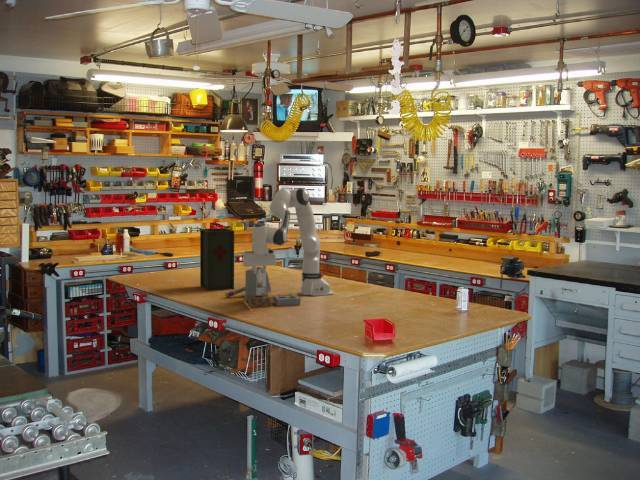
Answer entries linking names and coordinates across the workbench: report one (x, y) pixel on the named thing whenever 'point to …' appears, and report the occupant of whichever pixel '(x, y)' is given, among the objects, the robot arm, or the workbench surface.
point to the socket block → (286, 300)
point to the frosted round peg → (259, 277)
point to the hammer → (244, 288)
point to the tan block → (293, 294)
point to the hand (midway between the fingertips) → (259, 273)
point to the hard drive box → (254, 284)
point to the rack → (259, 301)
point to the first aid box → (217, 259)
